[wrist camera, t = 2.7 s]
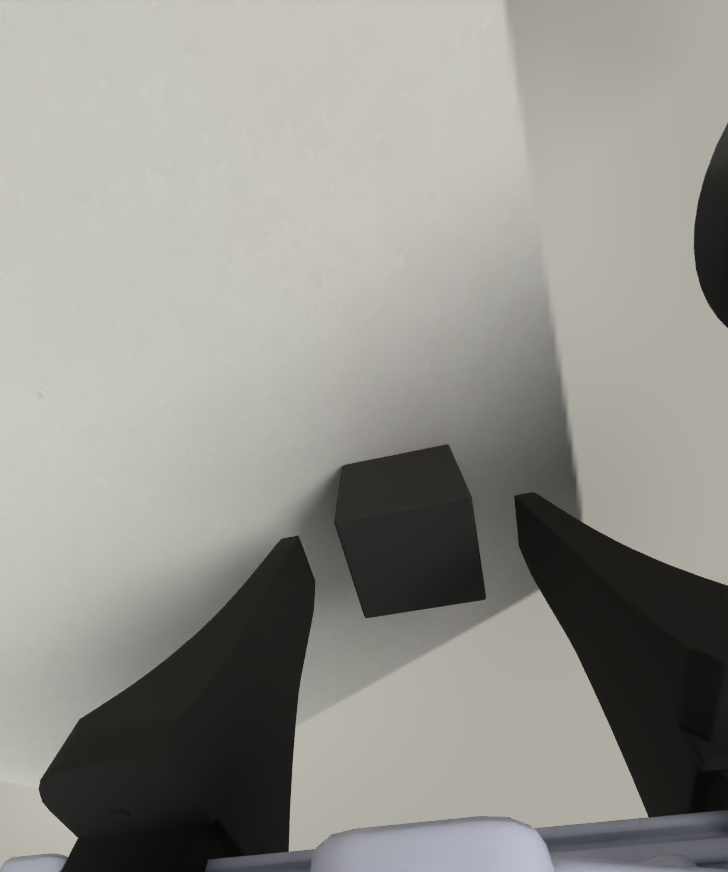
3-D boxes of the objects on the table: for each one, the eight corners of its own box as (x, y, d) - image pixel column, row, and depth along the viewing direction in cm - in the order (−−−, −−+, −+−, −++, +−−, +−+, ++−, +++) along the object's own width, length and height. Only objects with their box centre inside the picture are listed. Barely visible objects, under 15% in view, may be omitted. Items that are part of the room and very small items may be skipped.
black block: (448, 443, 14) (471, 495, 11) (463, 531, 15) (487, 600, 12) (341, 464, 14) (333, 521, 11) (366, 548, 16) (364, 619, 13)
